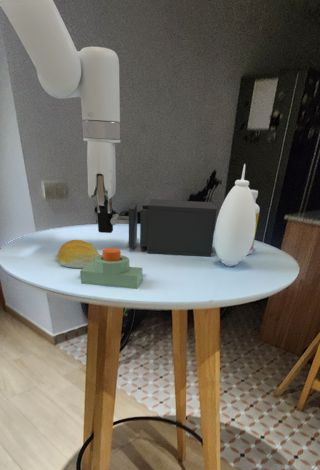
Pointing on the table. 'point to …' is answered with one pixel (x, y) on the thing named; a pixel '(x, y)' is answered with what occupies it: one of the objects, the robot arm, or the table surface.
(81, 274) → the box
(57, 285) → the table surface
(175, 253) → the box
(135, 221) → the drawer
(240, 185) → the sauce bottle
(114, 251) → the button
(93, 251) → the bread roll
